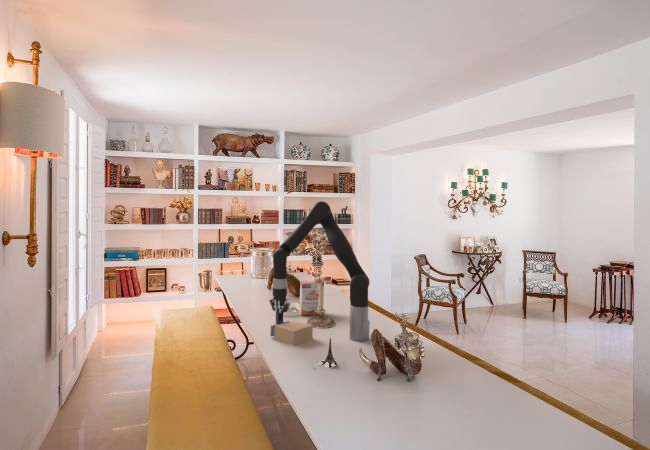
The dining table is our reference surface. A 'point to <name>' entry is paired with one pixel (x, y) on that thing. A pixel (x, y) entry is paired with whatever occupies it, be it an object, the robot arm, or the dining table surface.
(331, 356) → the eiffel tower figurine
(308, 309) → the cracker box
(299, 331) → the mailer sleeve
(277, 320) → the tray
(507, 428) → the dining table surface
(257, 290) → the dining table surface
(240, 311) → the dining table surface
